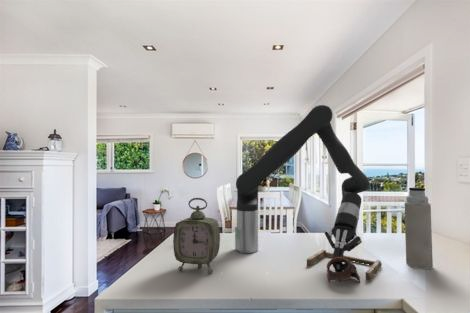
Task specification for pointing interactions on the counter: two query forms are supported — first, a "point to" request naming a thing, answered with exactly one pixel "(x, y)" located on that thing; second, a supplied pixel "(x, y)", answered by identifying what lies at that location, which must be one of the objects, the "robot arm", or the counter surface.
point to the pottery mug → (341, 270)
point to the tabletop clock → (196, 239)
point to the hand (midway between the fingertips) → (337, 259)
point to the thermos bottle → (418, 230)
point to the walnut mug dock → (369, 273)
